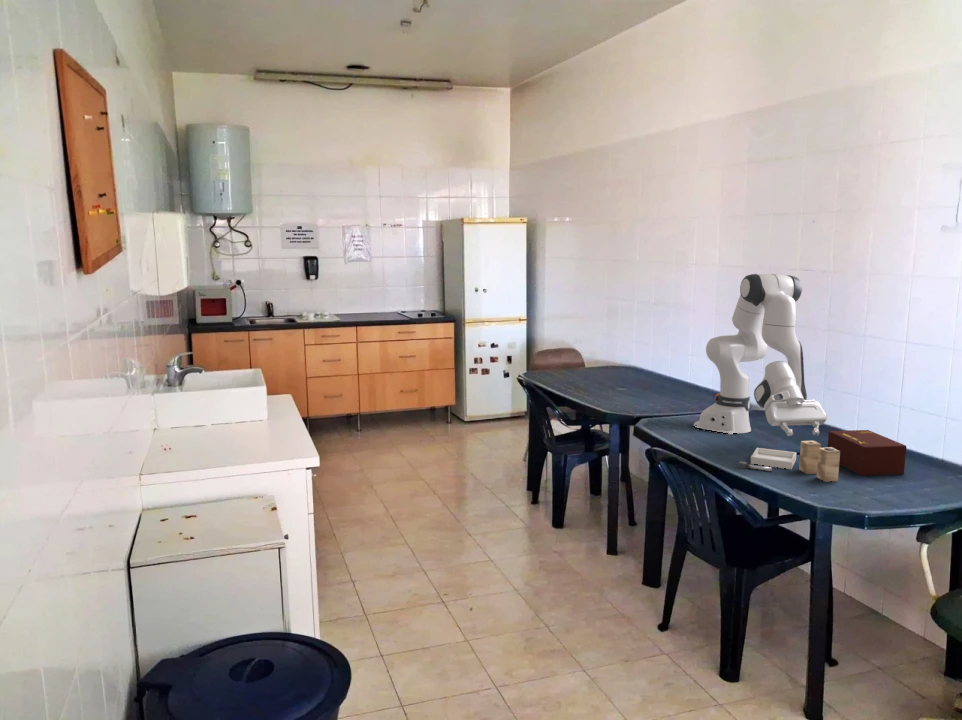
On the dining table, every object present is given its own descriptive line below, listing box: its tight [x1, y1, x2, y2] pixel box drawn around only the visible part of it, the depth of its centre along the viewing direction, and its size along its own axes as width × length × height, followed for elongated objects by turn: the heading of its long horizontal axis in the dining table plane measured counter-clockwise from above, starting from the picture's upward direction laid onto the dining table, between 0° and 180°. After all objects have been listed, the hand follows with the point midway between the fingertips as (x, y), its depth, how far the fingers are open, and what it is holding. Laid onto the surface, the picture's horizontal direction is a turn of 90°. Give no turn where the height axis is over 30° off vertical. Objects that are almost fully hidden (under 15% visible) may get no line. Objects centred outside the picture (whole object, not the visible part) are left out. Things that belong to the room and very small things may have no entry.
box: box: [827, 429, 907, 476], centre depth 251 cm, size 21×16×10 cm
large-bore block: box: [816, 446, 840, 483], centre depth 236 cm, size 4×4×10 cm
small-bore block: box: [798, 440, 822, 475], centre depth 244 cm, size 4×4×10 cm
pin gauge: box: [738, 461, 773, 472], centre depth 248 cm, size 10×2×2 cm, turn 61°
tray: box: [750, 447, 797, 470], centre depth 256 cm, size 13×13×2 cm
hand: (803, 434), depth 248 cm, fingers open, 8 cm apart
